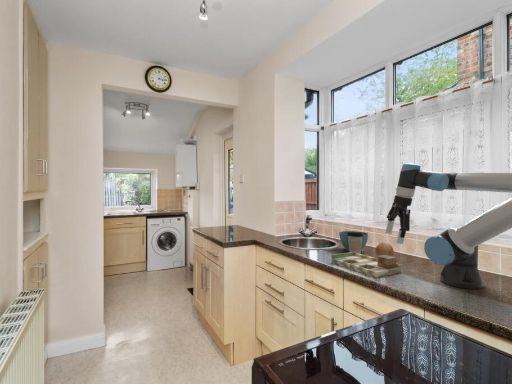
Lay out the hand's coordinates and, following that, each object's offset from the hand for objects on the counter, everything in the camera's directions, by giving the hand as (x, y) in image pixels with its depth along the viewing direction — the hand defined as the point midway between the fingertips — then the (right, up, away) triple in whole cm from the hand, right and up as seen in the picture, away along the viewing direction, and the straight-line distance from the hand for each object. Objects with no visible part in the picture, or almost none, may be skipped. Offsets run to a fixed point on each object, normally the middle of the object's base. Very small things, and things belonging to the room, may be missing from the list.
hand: (393, 238), depth 133 cm
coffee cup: (-7, -17, +33) cm, 38 cm away
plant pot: (-2, -17, +48) cm, 51 cm away
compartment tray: (-10, -17, +10) cm, 22 cm away
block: (-2, -15, +3) cm, 15 cm away
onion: (+8, -17, +27) cm, 33 cm away
